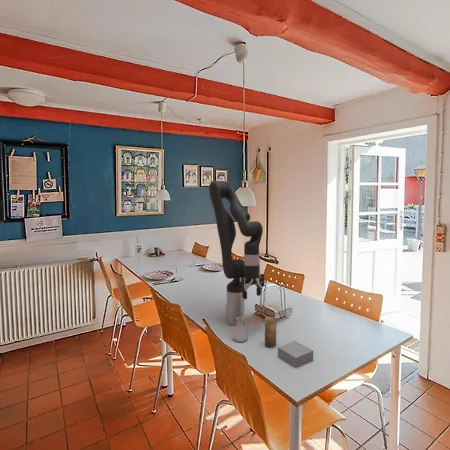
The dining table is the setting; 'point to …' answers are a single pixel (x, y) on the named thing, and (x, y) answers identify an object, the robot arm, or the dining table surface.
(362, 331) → the dining table surface
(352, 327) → the dining table surface
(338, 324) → the dining table surface
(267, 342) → the walnut cylinder
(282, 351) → the slate plinth
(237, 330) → the flask
